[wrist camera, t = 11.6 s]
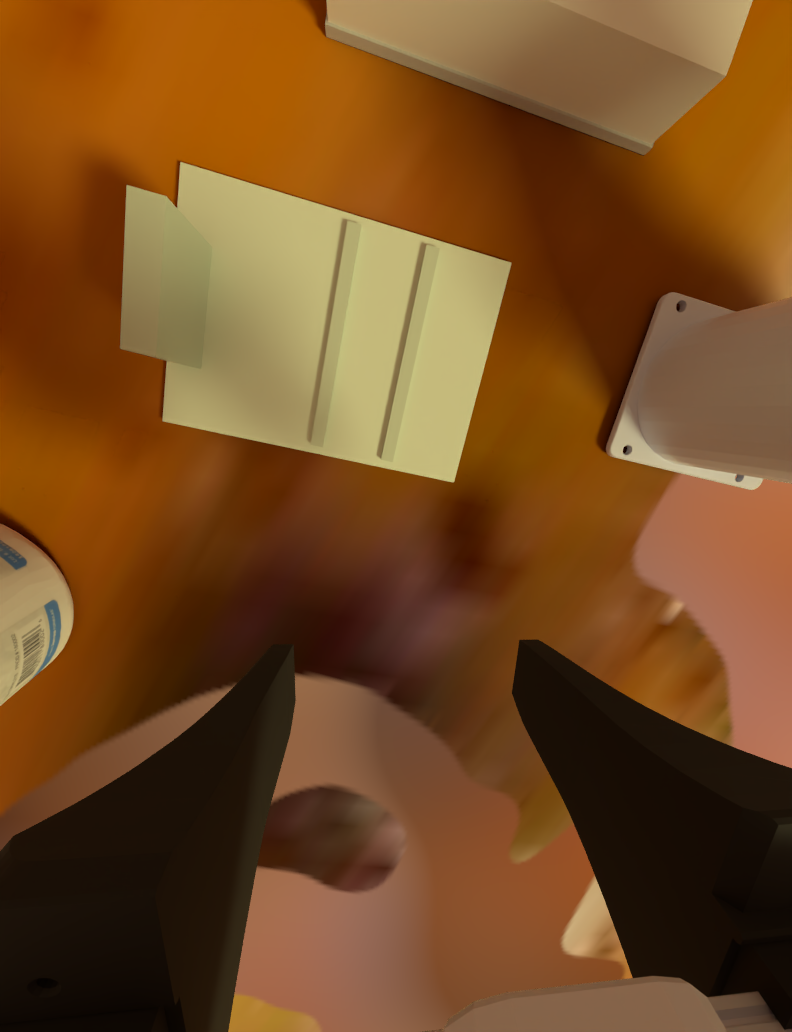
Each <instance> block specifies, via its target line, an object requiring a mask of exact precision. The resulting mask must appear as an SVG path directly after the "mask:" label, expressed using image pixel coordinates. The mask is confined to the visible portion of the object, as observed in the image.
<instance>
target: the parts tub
mask: <svg viewBox="0 0 792 1032" xmlns="http://www.w3.org/2000/svg"><path fill="white" fill-rule="evenodd" d="M752 1H753V0H326V2H327V14H326V21H325V29H326V37H328V38H331V39H334V40H337V41H339V42H342V43H345V44H347V45H350V46H353V47H355V48H358V49H361V50H363V51H366V52H369V53H371V54H374V55H377V56H379V57H382V58H385V59H387V60H390V61H393V62H395V63H398V64H401V65H403V66H406V67H409V68H411V69H414V70H417V71H419V72H422V73H425V74H427V75H430V76H433V77H435V78H438V79H441V80H443V81H446V82H449V83H452V84H454V85H457V86H460V87H462V88H465V89H468V90H470V91H473V92H476V93H478V94H481V95H484V96H486V97H489V98H492V99H494V100H497V101H500V102H502V103H505V104H508V105H510V106H513V107H516V108H518V109H521V110H524V111H526V112H529V113H532V114H534V115H537V116H540V117H542V118H545V119H548V120H550V121H553V122H556V123H559V124H561V125H564V126H567V127H569V128H572V129H575V130H577V131H580V132H583V133H585V134H588V135H591V136H593V137H596V138H599V139H601V140H604V141H607V142H609V143H612V144H615V145H617V146H620V147H623V148H625V149H628V150H631V151H633V152H636V153H639V154H641V155H645V154H646V153H647V152H648V151H649V150H651V149H652V147H653V144H654V141H655V140H657V139H658V138H659V137H660V136H661V135H662V134H663V133H664V132H665V131H666V130H668V129H669V128H670V127H671V126H672V125H673V124H674V123H675V122H676V121H677V120H678V119H680V118H681V117H682V116H683V115H684V114H685V113H686V112H687V111H688V110H689V109H691V108H692V107H693V106H694V105H695V104H696V103H697V102H698V101H699V100H700V99H701V98H703V97H704V96H705V95H706V94H707V93H708V92H709V91H710V90H711V89H712V88H714V87H715V86H716V85H717V84H718V83H719V82H720V81H721V80H722V79H723V78H724V77H726V75H727V72H728V69H729V66H730V63H731V61H732V58H733V55H734V52H735V49H736V46H737V44H738V41H739V38H740V35H741V32H742V29H743V27H744V24H745V21H746V18H747V15H748V12H749V10H750V7H751V4H752Z"/></svg>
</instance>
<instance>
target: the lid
mask: <svg viewBox="0 0 792 1032" xmlns="http://www.w3.org/2000/svg"><path fill="white" fill-rule="evenodd" d="M510 267H511V262H507V261H504V260H501V259H498V258H494V257H491V256H488V255H484V254H481V253H478V252H475V251H471V250H468V249H465V248H461V247H458V246H455V245H452V244H448V243H445V242H442V241H439V240H435V239H432V238H429V237H425V236H422V235H419V234H416V233H412V232H409V231H406V230H402V229H399V228H396V227H393V226H389V225H386V224H383V223H379V222H376V221H373V220H370V219H366V218H363V217H360V216H356V215H353V214H350V213H347V212H343V211H340V210H337V209H334V208H330V207H327V206H324V205H320V204H317V203H314V202H311V201H307V200H304V199H301V198H297V197H294V196H291V195H288V194H284V193H281V192H278V191H274V190H271V189H268V188H265V187H261V186H258V185H255V184H252V183H248V182H245V181H242V180H238V179H235V178H232V177H229V176H225V175H222V174H219V173H215V172H212V171H209V170H206V169H202V168H199V167H196V166H192V165H189V164H186V163H183V162H180V175H179V189H178V203H177V208H176V207H175V205H174V204H173V203H172V202H171V201H170V200H169V199H168V198H167V197H166V196H164V195H160V194H157V193H153V192H150V191H147V190H143V189H140V188H136V187H133V186H129V185H127V186H126V211H125V236H124V260H123V285H122V310H121V335H120V349H123V350H127V351H130V352H134V353H138V354H142V355H146V356H150V357H154V358H157V359H161V360H165V361H167V363H166V377H165V391H164V406H163V420H162V421H164V422H169V423H174V424H178V425H183V426H188V427H193V428H197V429H202V430H207V431H212V432H216V433H221V434H226V435H231V436H235V437H240V438H245V439H250V440H254V441H259V442H264V443H269V444H273V445H278V446H283V447H288V448H292V449H297V450H302V451H307V452H311V453H316V454H321V455H326V456H330V457H335V458H340V459H345V460H349V461H354V462H359V463H364V464H368V465H373V466H378V467H383V468H387V469H392V470H397V471H402V472H406V473H411V474H416V475H421V476H425V477H430V478H435V479H440V480H444V481H449V482H454V480H455V476H456V472H457V468H458V465H459V461H460V457H461V453H462V449H463V446H464V442H465V438H466V434H467V430H468V427H469V423H470V419H471V415H472V411H473V408H474V404H475V400H476V396H477V392H478V389H479V385H480V381H481V377H482V373H483V370H484V366H485V362H486V358H487V354H488V351H489V347H490V343H491V339H492V335H493V332H494V328H495V324H496V320H497V316H498V313H499V309H500V305H501V301H502V297H503V294H504V290H505V286H506V282H507V278H508V275H509V271H510Z"/></svg>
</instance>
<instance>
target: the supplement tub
mask: <svg viewBox="0 0 792 1032" xmlns="http://www.w3.org/2000/svg"><path fill="white" fill-rule="evenodd" d="M73 618H74V608H73V601H72V596H71V593H70V590H69V587H68V585H67V582H66V580H65V578H64V576H63V575H62V573H61V571H60V570H59V569H58V567H57V566H56V564H55V563H54V562H53V561H52V560H51V559H50V558H49V557H48V555H47V554H46V553H44V552H43V551H42V550H41V549H40V548H39V547H37V546H36V545H35V544H34V543H32V542H31V541H29V540H28V539H27V538H25V537H24V536H22V535H21V534H19V533H18V532H16V531H14V530H12V529H10V528H9V527H7V526H5V525H3V524H0V706H1V705H2V704H3V703H4V702H5V701H6V700H8V699H9V698H10V697H11V696H12V695H14V694H15V693H16V692H17V691H18V690H19V689H21V688H22V687H23V686H24V685H25V684H26V683H28V682H29V681H30V680H31V679H32V678H34V677H35V676H36V675H37V674H38V673H39V672H40V671H42V670H43V669H44V668H45V667H46V666H48V665H49V664H50V663H51V662H52V661H53V660H54V659H55V658H56V657H57V656H58V654H59V653H60V652H61V651H62V649H63V648H64V646H65V644H66V642H67V640H68V638H69V636H70V633H71V630H72V626H73Z"/></svg>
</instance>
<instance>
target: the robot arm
mask: <svg viewBox="0 0 792 1032" xmlns="http://www.w3.org/2000/svg"><path fill="white" fill-rule="evenodd" d="M677 303H678V304H679V305H680V310H679V312H678V311H677V309H676V305H677ZM625 446H627V451H626V453H624V454H623V448H624V447H625ZM606 452H607V454H608V455H609V456H611V457H615V458H619V459H623V460H627V461H632V462H636V463H640V464H644V465H648V466H652V467H657V468H661V469H665V470H669V471H673V472H678V473H682V474H686V475H690V476H694V477H699V478H703V479H707V480H711V481H715V482H719V483H723V484H728V485H732V486H736V487H740V488H744V489H749V490H753V489H756V488H757V487H759V486H760V484H761V483H762V481H763V479H769V480H774V481H780V482H786V483H792V297H791V298H787V299H783V300H779V301H775V302H772V303H768V304H764V305H760V306H756V307H752V308H749V309H745V310H741V311H737V312H736V311H733V310H730V309H726V308H723V307H720V306H717V305H714V304H711V303H708V302H705V301H701V300H698V299H695V298H692V297H689V296H686V295H683V294H679V293H676V292H671V293H668V294H666V295H663V296H662V297H661V298H660V299H659V301H658V303H657V306H656V309H655V312H654V314H653V317H652V320H651V323H650V326H649V328H648V331H647V334H646V337H645V339H644V342H643V345H642V348H641V351H640V353H639V356H638V359H637V362H636V365H635V367H634V370H633V373H632V376H631V378H630V381H629V384H628V387H627V390H626V392H625V395H624V398H623V401H622V403H621V406H620V409H619V412H618V415H617V417H616V420H615V423H614V426H613V429H612V431H611V434H610V437H609V440H608V442H607V445H606ZM736 475H737V478H736V479H735V476H736ZM512 694H513V697H514V700H515V703H516V706H517V709H518V711H519V714H520V716H521V719H522V721H523V724H524V726H525V728H526V730H527V732H528V734H529V736H530V738H531V740H532V742H533V744H534V745H535V747H536V749H537V751H538V753H539V755H540V757H541V759H542V761H543V763H544V764H545V766H546V768H547V770H548V772H549V774H550V776H551V778H552V780H553V781H554V783H555V785H556V787H557V789H558V791H559V793H560V795H561V797H562V799H563V801H564V803H565V805H566V807H567V809H568V811H569V813H570V816H571V818H572V820H573V823H574V825H575V827H576V830H577V832H578V835H579V837H580V839H581V842H582V844H583V846H584V848H585V851H586V854H587V856H588V859H589V861H590V864H591V866H592V869H593V871H594V874H595V877H596V879H597V882H598V884H599V887H600V889H601V892H602V894H603V897H604V899H605V902H606V905H607V908H608V910H609V913H610V916H611V918H612V921H613V924H614V927H615V929H616V932H617V935H618V937H619V940H620V943H621V946H622V948H623V951H624V954H625V957H626V960H627V963H628V965H629V968H630V971H631V974H632V977H633V978H630V979H622V980H613V981H604V982H596V983H586V984H578V985H568V986H560V987H551V988H542V989H533V990H524V991H515V992H507V993H503V994H499V995H496V996H492V997H489V998H485V999H481V1000H478V1001H475V1002H473V1003H471V1004H470V1005H468V1006H467V1007H465V1008H464V1009H462V1010H461V1011H460V1012H458V1013H457V1014H455V1015H454V1016H452V1017H451V1018H450V1019H448V1021H447V1023H446V1025H445V1027H444V1029H442V1030H432V1031H425V1032H792V768H789V767H786V766H783V765H780V764H777V763H774V762H771V761H769V760H766V759H763V758H760V757H758V756H755V755H752V754H750V753H747V752H744V751H742V750H739V749H737V748H734V747H732V746H729V745H727V744H724V743H722V742H719V741H717V740H715V739H712V738H710V737H708V736H706V735H703V734H701V733H699V732H696V731H694V730H692V729H690V728H687V727H685V726H683V725H681V724H679V723H677V722H675V721H673V720H671V719H669V718H667V717H665V716H663V715H661V714H659V713H657V712H655V711H653V710H651V709H649V708H647V707H645V706H644V705H642V704H640V703H638V702H636V701H635V700H633V699H631V698H629V697H628V696H626V695H624V694H623V693H621V692H619V691H618V690H616V689H614V688H612V687H611V686H609V685H608V684H606V683H604V682H603V681H601V680H600V679H598V678H596V677H595V676H593V675H592V674H590V673H589V672H587V671H586V670H584V669H583V668H581V667H580V666H578V665H577V664H575V663H574V662H572V661H571V660H569V659H568V658H566V657H565V656H563V655H562V654H560V653H559V652H557V651H555V650H554V649H552V648H551V647H549V646H548V645H546V644H544V643H543V642H541V641H539V640H520V641H519V648H518V655H517V662H516V669H515V676H514V683H513V690H512ZM294 707H295V674H294V647H293V644H283V645H272V646H271V647H270V648H269V649H268V650H267V651H266V652H265V654H264V655H263V656H262V657H261V658H260V659H259V660H258V662H257V663H256V664H255V665H254V666H253V667H252V668H251V669H250V670H249V671H248V673H247V674H246V675H245V676H244V677H243V678H242V679H241V680H240V681H239V682H238V683H237V684H236V685H235V686H234V687H233V688H232V689H231V690H230V691H229V692H228V693H227V694H226V695H225V696H224V697H223V698H222V699H221V700H220V701H219V702H218V703H217V704H216V705H215V706H214V707H213V708H211V709H210V710H209V711H208V712H207V713H206V714H205V715H204V716H203V717H202V718H200V719H199V720H198V721H197V722H196V723H195V724H193V725H192V726H191V727H190V728H188V729H187V730H186V731H185V732H183V733H182V734H181V735H180V736H179V737H177V738H176V739H174V740H173V741H172V742H170V743H169V744H168V745H166V746H165V747H163V748H162V749H161V750H159V751H158V752H156V753H155V754H153V755H152V756H151V757H149V758H148V759H146V760H145V761H144V762H142V763H141V764H139V765H138V766H136V767H135V768H133V769H132V770H130V771H129V772H127V773H126V774H124V775H122V776H121V777H119V778H117V779H116V780H114V781H113V782H111V783H109V784H108V785H106V786H104V787H103V788H101V789H99V790H98V791H96V792H95V793H93V794H91V795H89V796H88V797H86V798H84V799H82V800H81V801H79V802H77V803H75V804H74V805H72V806H70V807H68V808H66V809H64V810H63V811H60V812H59V813H57V814H55V815H53V816H51V817H49V818H47V819H45V820H43V821H42V822H40V823H38V824H36V825H34V826H32V827H30V828H29V829H26V830H25V831H22V832H20V833H19V834H17V835H15V836H13V837H12V838H11V840H10V841H9V842H8V843H7V844H6V845H5V846H4V848H3V849H2V850H1V851H0V1032H228V1029H229V1023H230V1017H231V1010H232V1004H233V998H234V992H235V986H236V980H237V974H238V969H239V963H240V957H241V951H242V945H243V939H244V933H245V927H246V922H247V917H248V911H249V906H250V900H251V895H252V889H253V884H254V878H255V873H256V868H257V862H258V857H259V852H260V847H261V841H262V836H263V832H264V827H265V823H266V819H267V815H268V811H269V808H270V804H271V801H272V797H273V793H274V790H275V786H276V783H277V779H278V776H279V772H280V768H281V765H282V761H283V758H284V754H285V750H286V747H287V743H288V739H289V736H290V731H291V725H292V719H293V713H294Z"/></svg>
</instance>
